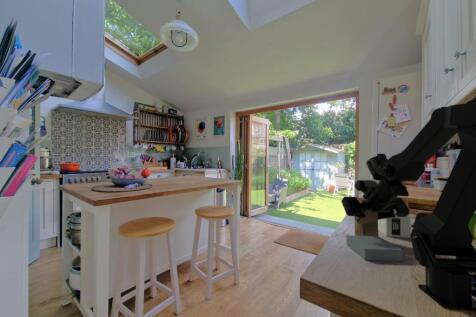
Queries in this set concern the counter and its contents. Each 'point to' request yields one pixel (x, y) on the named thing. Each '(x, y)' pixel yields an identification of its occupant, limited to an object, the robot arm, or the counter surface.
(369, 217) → the post
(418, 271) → the counter surface
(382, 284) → the counter surface
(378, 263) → the counter surface
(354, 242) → the plinth
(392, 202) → the robot arm
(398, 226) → the container
